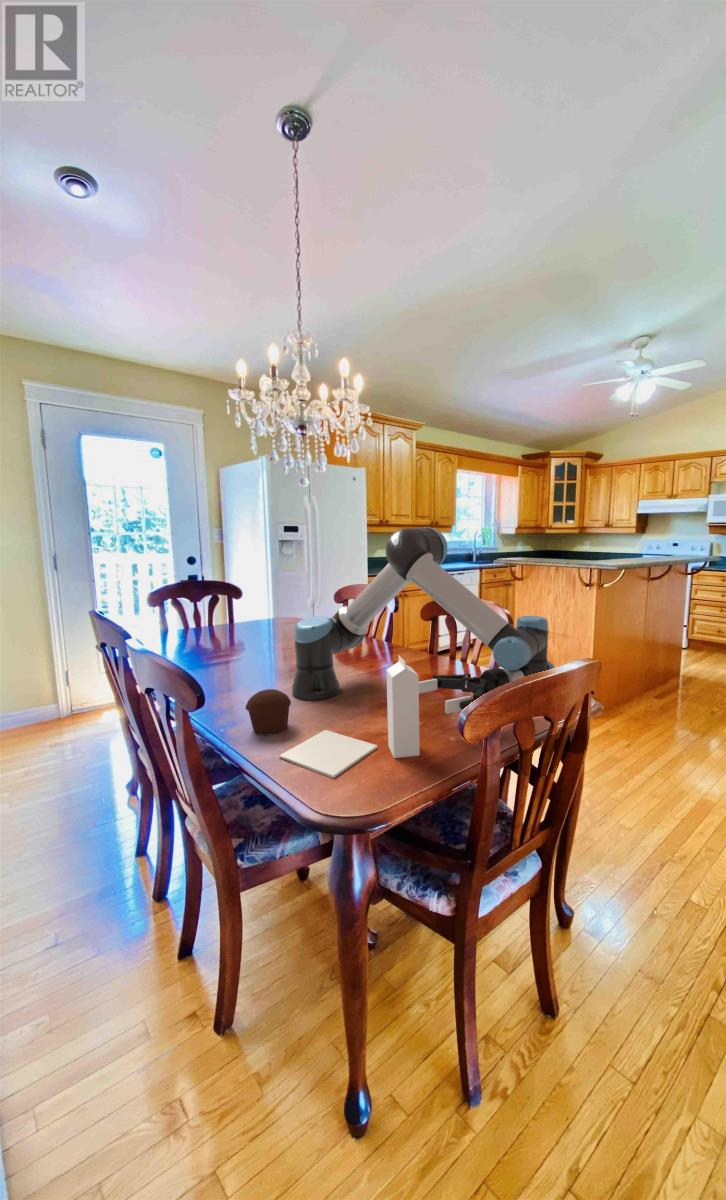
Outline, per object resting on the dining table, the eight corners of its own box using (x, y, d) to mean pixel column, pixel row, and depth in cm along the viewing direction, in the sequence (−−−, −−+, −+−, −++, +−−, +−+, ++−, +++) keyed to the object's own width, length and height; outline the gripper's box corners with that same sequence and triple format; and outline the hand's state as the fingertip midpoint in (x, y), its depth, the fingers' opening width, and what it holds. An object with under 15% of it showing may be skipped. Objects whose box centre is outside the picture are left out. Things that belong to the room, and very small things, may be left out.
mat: (325, 732, 117) (325, 729, 117) (377, 747, 108) (377, 745, 108) (279, 757, 104) (279, 755, 104) (333, 778, 95) (333, 775, 95)
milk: (412, 744, 109) (411, 654, 106) (419, 756, 103) (419, 661, 100) (387, 746, 108) (386, 655, 105) (393, 758, 102) (391, 662, 99)
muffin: (286, 716, 128) (284, 681, 126) (298, 731, 118) (296, 694, 117) (243, 725, 123) (240, 689, 122) (251, 741, 113) (248, 702, 112)
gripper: (538, 714, 104) (461, 733, 96) (470, 682, 127) (403, 696, 118) (539, 682, 103) (461, 699, 94) (470, 656, 126) (402, 667, 117)
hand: (428, 697), depth 106 cm, fingers open, 13 cm apart
